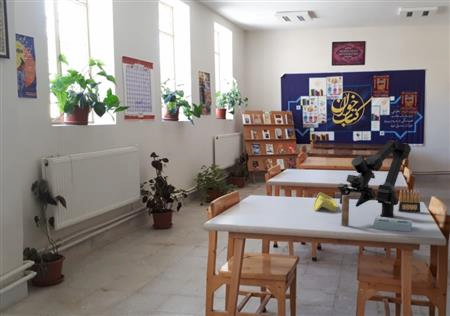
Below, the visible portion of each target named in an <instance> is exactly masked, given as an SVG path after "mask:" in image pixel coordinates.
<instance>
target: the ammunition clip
mask: <svg viewBox="0 0 450 316" xmlns="http://www.w3.org/2000/svg"><path fill="white" fill-rule="evenodd" d="M398 198H399V199H398V210H397V211H398V212H399V213H421V193H420V189H418V190H416V189H414V191H413V189H410V190H409V189H407V191H406V189H404V188H403V190H402V188H400V191H399V197H398Z"/></svg>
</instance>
